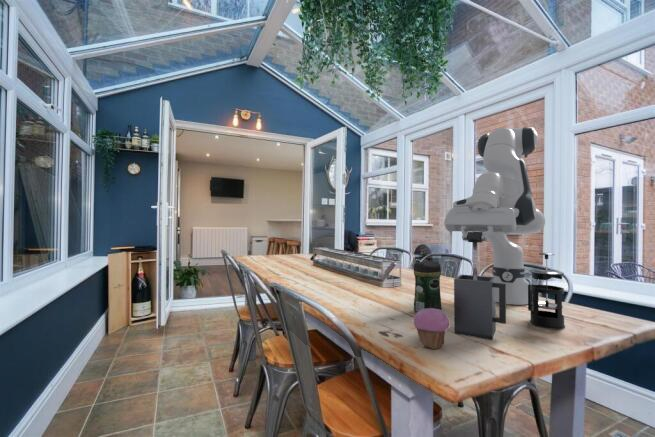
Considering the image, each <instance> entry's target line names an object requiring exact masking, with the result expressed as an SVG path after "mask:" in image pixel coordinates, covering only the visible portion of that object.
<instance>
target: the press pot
mask: <svg viewBox="0 0 655 437" xmlns="http://www.w3.org/2000/svg"><path fill="white" fill-rule="evenodd" d="M496 288H499V302H498V303H499V304H498V306H499V307H498V309H499V310H498V311H499V312H498V315H499V316H496V315H497V314H496V313H497V311H496V307H497V305H496V303H497V302H496ZM453 301H454V302H453V322H454V323H453V327H454V329H453V330H454V331H453V334H454V335H455V334H456V335H460V336H466V337H471V338H478V339H484V340H487V341H488V340H489V341H493V339H494V337H495V334H496V331H497V324H498V323H499V324H503V325H506V324H507V304H506V283H496V277H492V276H482V275H477V280H473V274H472V275H471V274H469V275H468V274H461V273H460V274H459V275H458V276H456V277H455V278H453ZM496 323H497V324H496Z"/></svg>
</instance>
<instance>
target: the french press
mask: <svg viewBox="0 0 655 437" xmlns="http://www.w3.org/2000/svg"><path fill="white" fill-rule="evenodd" d="M538 255H543V256H544V260H545V269H537V270H536V269H534V270H533V269H532V270H530V273H531V278H532V279H535V280H539V281H540V280H541V281H545V284H530V283H529V285H528V304H527V309H528V311H529V312H530V320H529V323H530V324H531V325H533V326H535V327H539V328H542V329H543V328H544V329H550V330H562V329H563V330H564V329H566V325H565V315H563V307H564V305H563V294H565V288H564V287H561V286H557V285H556V286H555V285H548V280H551V279H559V280H563V275H565V273H564V272H562V271H556V270H550V269H548V260H549V256H555V254H554V253H551V252H539V253H538ZM539 294H544V295H545V301H539ZM549 295H554V302H549V300H548V298H549V297H548V296H549ZM540 309H543V310H540ZM548 310H554V311H548Z"/></svg>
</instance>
